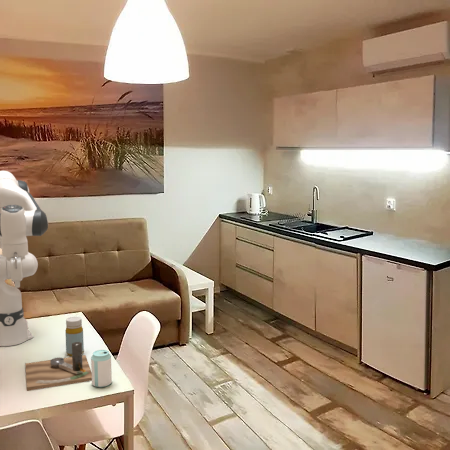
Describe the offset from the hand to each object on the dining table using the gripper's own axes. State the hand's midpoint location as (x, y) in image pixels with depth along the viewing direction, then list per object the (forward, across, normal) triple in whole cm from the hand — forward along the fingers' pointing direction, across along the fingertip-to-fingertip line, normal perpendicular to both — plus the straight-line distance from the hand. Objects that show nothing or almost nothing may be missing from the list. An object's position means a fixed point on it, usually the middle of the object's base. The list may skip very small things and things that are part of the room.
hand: (17, 286), depth 192 cm
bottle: (+35, +12, -20) cm, 42 cm away
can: (+34, -20, -26) cm, 48 cm away
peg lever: (+33, -6, -16) cm, 37 cm away
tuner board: (+34, -5, -12) cm, 37 cm away
